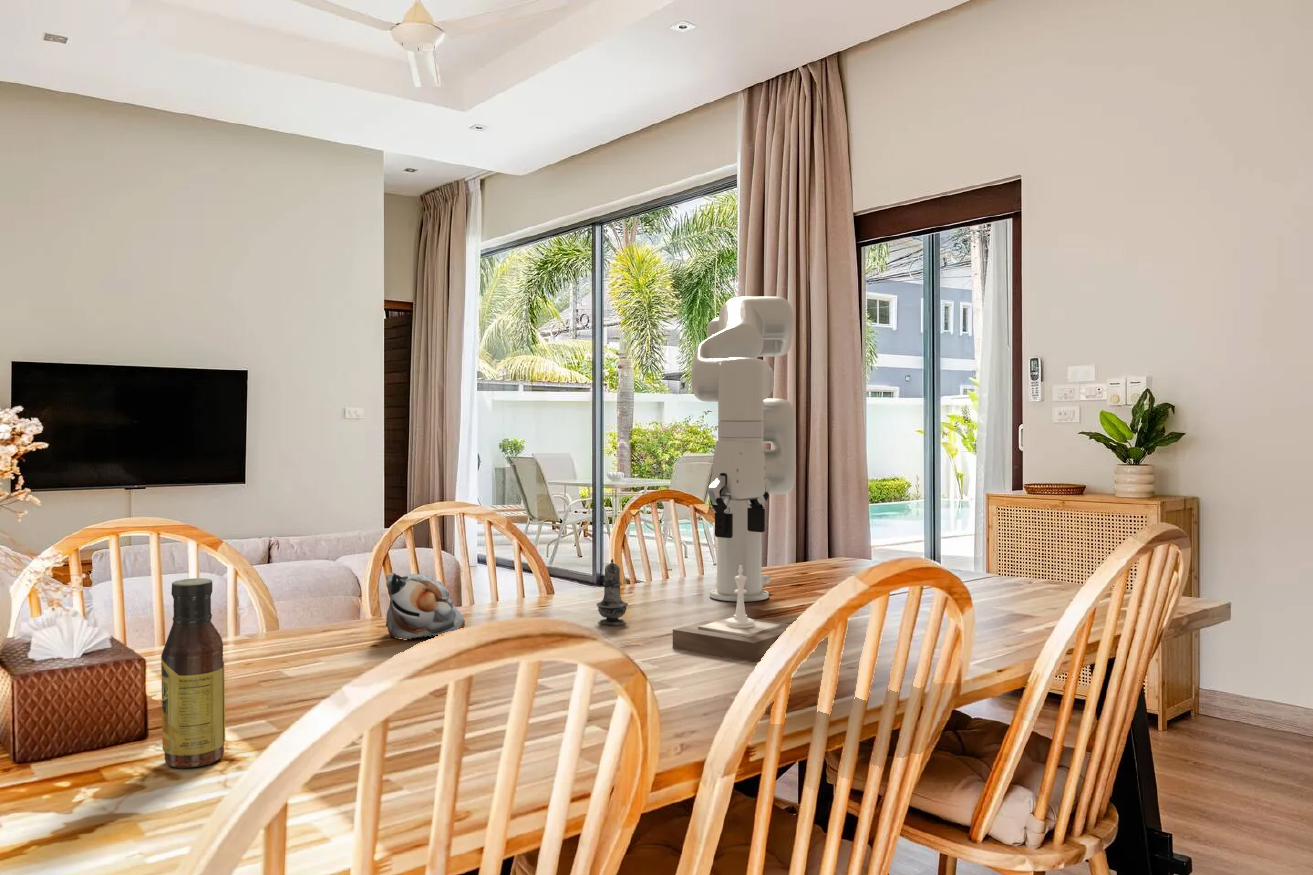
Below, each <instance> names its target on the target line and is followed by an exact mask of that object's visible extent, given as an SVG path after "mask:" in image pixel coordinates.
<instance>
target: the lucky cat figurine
mask: <svg viewBox="0 0 1313 875" xmlns="http://www.w3.org/2000/svg"><path fill="white" fill-rule="evenodd" d="M385 580H386V583H385V585H386V588H387V593H388V597H389V605H388V609H387V611H386V612H387V613H386V621H385V623H386V624H385V627H386V628H387V632H388V634H389V637H390V636H392V637H391V638H393V637H397V638H402V639H410V638H414V639H418V638H427V636H429V637H436V635H438V634H442V633H445V632H448V631H454V630H457V629H460V628H463V629H464V628H465V626H466V625H465V622H466V620H465V618H464V617H463V614H462V613H461V612H460V610H458V609H457V607H456V605H454V600H452V599H451V598H450V592H449V590H448V589H447V588H446V587H445V586H444V585H443V584H442V582H440V581H439V580H437V581H436V580H434V579H433V577H431V576H430V575H428V574H422V573H410V574H406V575H404V576H400V575H399V574H396V573H395V572H390V573H388V574H387V575H386V576H385ZM431 635H433V636H431ZM423 636H424V637H423ZM417 637H418V638H417ZM410 640H411V639H410Z"/></svg>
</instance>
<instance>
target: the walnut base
mask: <svg viewBox="0 0 1313 875" xmlns="http://www.w3.org/2000/svg"><path fill="white" fill-rule="evenodd" d="M733 617H735V616H734V615H729V614H728V615H727V614H726V615H722V616H719V617H714V618H711V619H707V620H703V621H700V622H696V623H693V624H688V625H685V626H681V627H678V628H677V627H676V628H674V629H672V649H678V650H679V649H680V650H684V651H690V652H695V653H701V654H706V655H712V656H717V657H718V656H719V657H722V658H723V657H725V658H729V659H735V660H741V661H746V662H752V663H755V662H759V661H761V660H760V659H761V658H762V657H763V656H764V654H765V653H766V651H767V650H768V649H769V648H770V646H771V645H772V644H773V643H774V642H775V641H776V640H777V639H778V637H779V636H780V635H781V634H782V633H783V632H784V631H786V628H787V627H788V626H789V625H790V624H791V623H784V622H779V621H776V622H775V621H770V620H762V619H757V618H752V619H753V620H754V621H755V623H754V624H755V626H754V627H750V628H733V627H728V626H726V620H727V619H730V618H733Z"/></svg>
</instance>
